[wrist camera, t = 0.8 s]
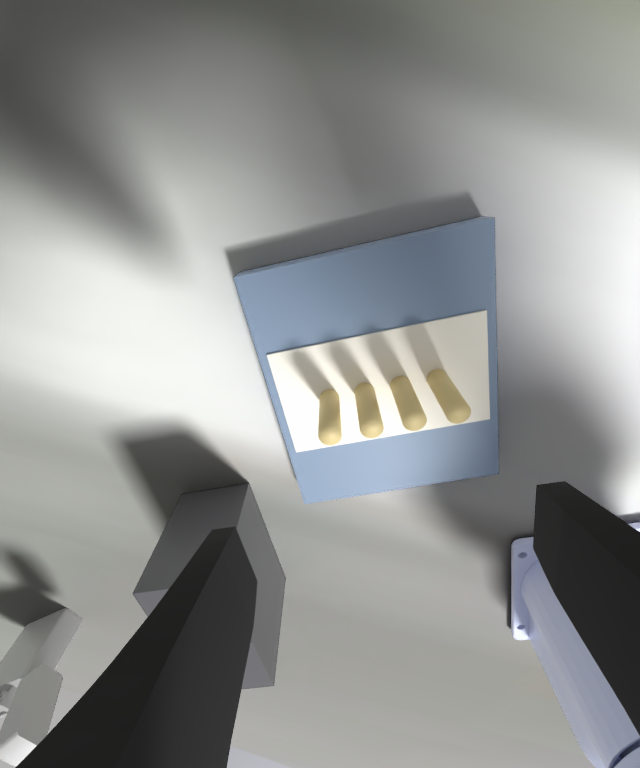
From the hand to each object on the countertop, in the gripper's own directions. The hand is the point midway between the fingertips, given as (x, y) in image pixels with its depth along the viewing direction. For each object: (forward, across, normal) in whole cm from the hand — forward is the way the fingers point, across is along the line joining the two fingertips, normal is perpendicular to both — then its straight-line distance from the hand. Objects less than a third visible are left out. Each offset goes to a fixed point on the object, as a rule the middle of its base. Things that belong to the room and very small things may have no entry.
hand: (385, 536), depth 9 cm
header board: (+10, -1, 0) cm, 10 cm away
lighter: (+10, +23, +15) cm, 29 cm away
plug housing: (+10, +9, +10) cm, 16 cm away
